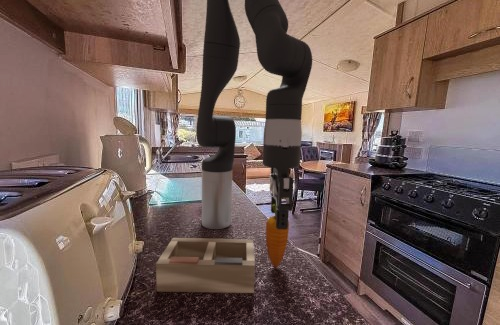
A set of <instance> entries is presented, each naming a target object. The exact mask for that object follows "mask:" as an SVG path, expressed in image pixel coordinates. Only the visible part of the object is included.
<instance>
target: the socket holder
mask: <svg viewBox="0 0 500 325" xmlns="http://www.w3.org/2000/svg"><path fill="white" fill-rule="evenodd" d="M155 270H156V273H155V277H156V279H155V280H156V292H164V293H167V292H168V293H169V292H172V293H173V292H174V293H231V294H232V293H234V294H235V293H237V294H242V293H243V294H254V293H255V275H256V260H255V246H254V239H252V238H251V239H250V238H247V239H244V238H242V239H241V238H201V237H200V238H197V237H172V239H171V240H170V242H169V243H168V245H167V246H166V247H165V249H164V251H163V252H162V254H161V256H160V257H159V258H158V260H157V261H156V263H155Z"/></svg>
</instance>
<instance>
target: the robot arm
mask: <svg viewBox="0 0 500 325" xmlns="http://www.w3.org/2000/svg"><path fill="white" fill-rule="evenodd" d="M244 12H245V15H246V18H247V21H248V23H249V25H250V27H251V29H252V32H253V33H254V36H255V46H256V55H257V59H258V62H259V64H260V65H261V67H262V68H263V69H264V70H265V71H266V72H268V73H270V74H272V75H276V76H278V77H279V76H280V77H282V78H281V82H280V86H279V87H276V88H275V87H274V88H272V89H271V90H270V89H269V91H268V92H267V94H266V98H265V99H266V100H265V120H264V121H265V122H264V127H263V142H262V143H263V144H262V165H263V166H264V167H267V168H270V173H269V191H270V193H269V194H270V196H271V198H270V199H271V202H270V204H271V205H270V212H271V213H272V214H275V213H274V210H273V207H272V205H273V204H275V205H276V228H277V229H287V228H288V221H289V213H290V212H292V211H293V208H294V207H293V204H294V203H293V201H294V200H293V199H294V182H295V179H294V177H292V176H290V169H297V168H299V167H300V166H301V155H302V154H301V151H302V132H303V131H302V114H303V113H302V112H303V107H302V106H303V98H304V94H305V92H306V89H307V86H308V82H309V78H310V75H311V71H312V67H313V54H312V53H313V52H312V49H311V47H310V45H309V44H307V42H305V41H303V40H301V39H300V38H298V37H297V38H296V37H294V36H293V35H290V34H288V33H287V32H288V29H289V20H288V17H287V14H286V12H285V10H284V8H283V6H282V4H281V2H280V1H279V0H244ZM239 34H240V33H239V31H238V27H237V25H236V22H235V19H234V15H233V13H232V9H231V5H230V2H229V0H206V16H205V28H204V35H203V36H204V38H203V49H202V70H201V71H202V74H201V86H200V87H201V88H200V89H201V90H200V97H199V98H200V99H199V105H198V106H199V107H198V113H197V120H196V128H195V130H196V132H195V133H196V135H195V136H196V141H197V144H198V146H200V147H202V148H218V150H217V152H215V153H214V154H212V155H211V156H208V157H207V158H204V159H203V160H202V162H201V226H202V227H203V228H206V229H208V230H221V229H222V230H223V229H225V228H226V229H227V228H229V227H230V226H231V225H232V209H233V208H232V206H233V205H232V204H233V193H232V192H233V165H234V161H235V149H236V136H237V134H236V132H237V129H236V123H235V121H234V119H233V117H231V116H228V115H214V112H215V108H216V107H215V106H216V103H217V101H218V99H219V97H220V95H221V93H222V92H223V91H224V89H225V88H226V86H227V85H228V84H229V82H230V81H231V80H232V78H234V75H235V74H236V72H237V69H238V64H239V57H240V46H241V42H240V41H241V40H240V35H239ZM282 200H285V203H283V202H282Z"/></svg>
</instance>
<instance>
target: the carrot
mask: <svg viewBox="0 0 500 325" xmlns="http://www.w3.org/2000/svg"><path fill="white" fill-rule="evenodd" d="M272 207H273V210H274V213H273V214H274V215H272V216H270V217H269V218H268V219H267V221H266V225H265V237H266V238H265V239H266V241H265V243H266V250H267V254H268V258H269V261H270V263H271V264H272V266H273V267H274V268H277V267H279V265H281V262H282V260H283V259H284V255H285V252H286V248H287V245H288V239H289V238H288V237H289V230H290V221H289V220H288V228H287V229H277V228H276V205H275V204H273V205H272Z"/></svg>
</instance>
